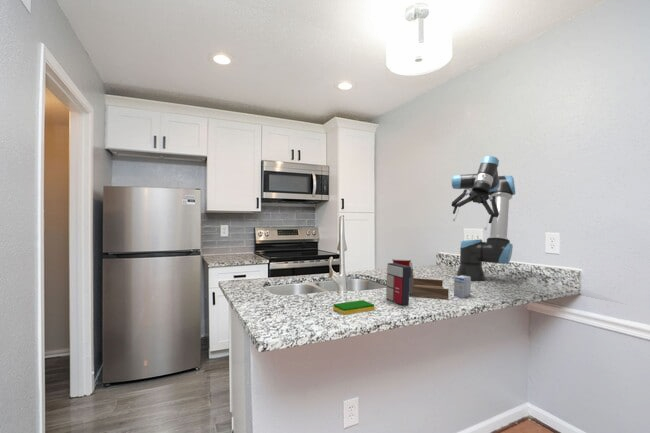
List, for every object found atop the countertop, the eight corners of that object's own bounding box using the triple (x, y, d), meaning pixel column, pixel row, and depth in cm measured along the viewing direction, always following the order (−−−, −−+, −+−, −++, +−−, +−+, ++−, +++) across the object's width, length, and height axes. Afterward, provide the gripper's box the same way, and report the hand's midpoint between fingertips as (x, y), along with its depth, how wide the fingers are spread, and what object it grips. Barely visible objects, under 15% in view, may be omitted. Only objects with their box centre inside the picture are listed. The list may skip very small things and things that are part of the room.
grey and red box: (384, 298, 128) (385, 263, 128) (393, 298, 129) (394, 262, 130) (401, 305, 118) (402, 267, 118) (410, 304, 119) (411, 266, 120)
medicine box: (460, 293, 141) (461, 275, 141) (470, 295, 138) (471, 276, 138) (453, 296, 136) (454, 276, 136) (463, 298, 132) (464, 278, 132)
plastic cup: (409, 278, 176) (409, 257, 176) (412, 282, 165) (413, 260, 165) (390, 277, 177) (390, 257, 177) (392, 281, 166) (393, 259, 166)
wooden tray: (408, 285, 155) (409, 262, 155) (442, 288, 151) (442, 264, 151) (409, 295, 134) (410, 268, 134) (448, 299, 130) (448, 271, 130)
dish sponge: (332, 310, 110) (332, 303, 110) (362, 306, 118) (363, 299, 118) (343, 316, 104) (343, 309, 104) (374, 311, 111) (375, 304, 111)
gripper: (455, 175, 147) (441, 213, 141) (513, 187, 136) (501, 229, 130) (454, 183, 153) (441, 219, 147) (510, 195, 142) (498, 235, 136)
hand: (469, 224), depth 139 cm, fingers open, 13 cm apart
